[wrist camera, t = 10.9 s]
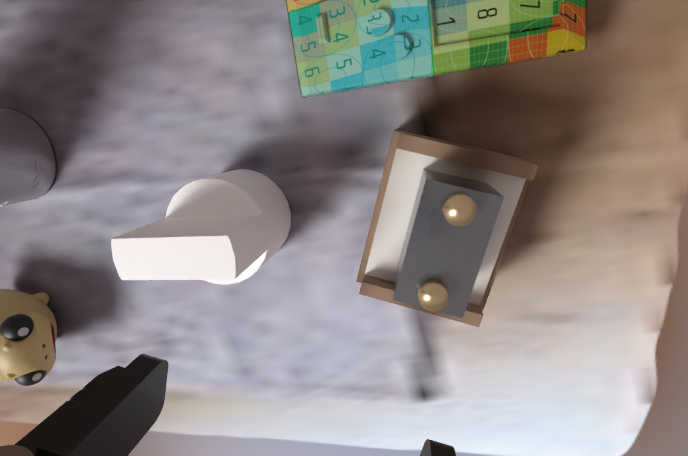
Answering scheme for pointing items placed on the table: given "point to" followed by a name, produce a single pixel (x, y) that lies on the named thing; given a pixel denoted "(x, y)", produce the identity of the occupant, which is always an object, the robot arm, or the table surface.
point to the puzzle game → (424, 38)
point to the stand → (398, 202)
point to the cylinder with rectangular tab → (209, 232)
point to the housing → (445, 242)
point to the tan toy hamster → (26, 337)
